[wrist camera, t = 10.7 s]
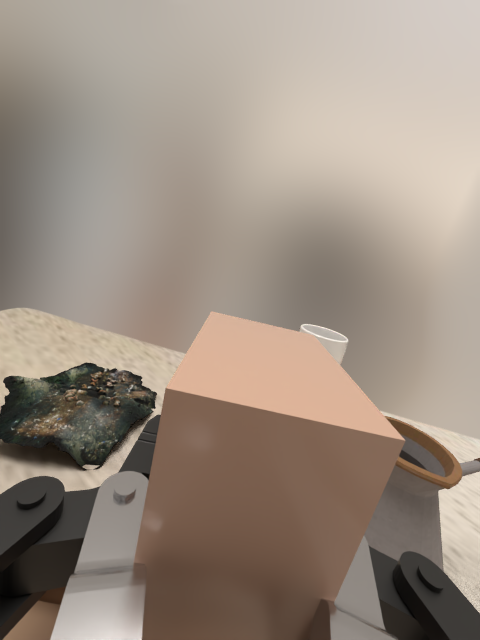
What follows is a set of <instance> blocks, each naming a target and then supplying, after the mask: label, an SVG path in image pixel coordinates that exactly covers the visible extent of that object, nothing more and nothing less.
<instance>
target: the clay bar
mask: <svg viewBox="0 0 480 640" xmlns="http://www.w3.org/2000/svg"><path fill="white" fill-rule="evenodd" d="M404 443H405V439H404V438H403V437H402V436H401V435H400V434H399V433H398V431H397V430H396V429H395V428H394V427H393V426H392V425H391V423H390V422H389V421H388V420H387V419H386V418H385V417H384V415H383V414H382V413H381V412H380V411H379V410H378V409H377V407H376V406H375V405H374V404H373V403H372V402H371V401H370V399H369V398H368V397H367V396H366V395H365V394H364V392H363V391H362V390H361V389H360V388H359V387H358V386H357V384H356V383H355V382H354V381H353V380H352V379H351V378H350V376H349V375H348V374H347V373H346V372H345V371H344V370H343V368H342V367H341V366H340V365H339V364H338V363H337V361H336V360H335V359H334V358H333V357H332V356H331V355H330V353H329V352H328V351H327V350H326V349H325V348H324V346H323V345H322V344H321V343H320V342H319V341H318V340H317V338H316V337H315V336H314V335H311V334H306V333H302V332H298V331H293V330H289V329H285V328H281V327H276V326H272V325H268V324H263V323H259V322H255V321H250V320H246V319H242V318H237V317H233V316H229V315H224V314H220V313H216V312H211V313H210V315H209V317H208V318H207V320H206V321H205V323H204V325H203V327H202V328H201V330H200V332H199V333H198V335H197V337H196V338H195V340H194V342H193V344H192V345H191V347H190V349H189V350H188V352H187V353H186V355H185V357H184V358H183V360H182V362H181V363H180V365H179V367H178V369H177V370H176V372H175V374H174V375H173V377H172V379H171V380H170V382H169V384H168V385H167V387H166V390H165V395H164V401H163V406H162V412H161V417H160V422H159V428H158V433H157V439H156V444H155V450H154V455H153V460H152V466H151V471H150V477H149V482H148V487H147V493H146V498H145V504H144V509H143V514H142V520H141V525H140V531H139V536H138V542H137V547H136V552H135V558H134V563H141V564H145V566H146V588H145V601H144V614H143V628H142V640H308V638H309V636H310V633H311V629H312V624H313V617H314V614H315V612H316V610H317V607H318V605H319V603H320V600H321V598H323V599H326V600H330V601H334V602H335V599H336V597H337V595H338V593H339V590H340V588H341V586H342V584H343V581H344V579H345V577H346V574H347V572H348V570H349V568H350V565H351V563H352V561H353V559H354V556H355V554H356V552H357V550H358V547H359V545H360V543H361V541H362V538H363V536H364V534H365V531H366V529H367V527H368V525H369V522H370V520H371V518H372V516H373V513H374V511H375V509H376V507H377V504H378V502H379V500H380V497H381V495H382V493H383V491H384V488H385V486H386V484H387V482H388V479H389V477H390V475H391V473H392V470H393V468H394V466H395V463H396V461H397V459H398V457H399V454H400V452H401V450H402V448H403V445H404Z"/></svg>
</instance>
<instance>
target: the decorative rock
mask: <svg viewBox="0 0 480 640" xmlns="http://www.w3.org/2000/svg"><path fill="white" fill-rule="evenodd" d="M141 379H142V377H141V376H138V375H134V374H132V373H131V372H129V371H125V370H122V371H119V370H117V369H116V368H115V369H112V370H109V369H104V368H102V367H98V366H97V365H96V364H93V363H84V364H82V365H80V366H77V367H74V368H71V369H69V370H67V371H64V372H61V373H59V374H57V375H55V376H49V377H46V378H45V377H43V378H40V380H39V379H33V378H26V377H21V376H9V377H6V378H5V379H4V381H3V382H4V383H5V387H6V388H8V390H9V392H10V393H9V395H8V396H5V405H3V406H1V413H0V439H2V440H3V441H4V442H5V443H15V444H19V445H21V446H33V447H36V448H42V447H45V446H46V445H47V444H48V443H52V442H54V444H55V445H57V446H58V447H59V449H58V450H59V451H66V452H67V453H69V454H70V455H71V456H72V457H73V459H74V460H76V462H77V463H78V464H79V465H81V467H82V466H84V465H85V464H87V465H100V466H99V467H97V468H96V469H98V468H100V467H101V466H102V463H103V462H104V461H105V460H106V458H107V456H108V454H109V452H110V450H111V449H112V447H113V446H114V444H116V443H117V442H118V441H119V442H121V441H122V439H123V438H124V436H125V434H126V432H127V430H128V429H129V428H130V425H131V424H133V423H134V422H135V421H137V420H138V419H140V418H144V417H145V416H147V415H148V414H150V413H152V412H153V411H152V409H151V408H154V409H155V408H156V407H155V402H154V400H155V397H156V395H157V393H156V392H153V391H151V390H150V389H149V388H146V387H144V386H142V385H141V384H142V381H141ZM83 469H85V468H83ZM86 470H87V469H86ZM93 470H94V469H93Z"/></svg>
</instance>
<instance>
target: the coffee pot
mask: <svg viewBox="0 0 480 640" xmlns="http://www.w3.org/2000/svg"><path fill="white" fill-rule="evenodd" d="M384 417H385V418H386V419H387V420H388V421H389V422H390V423H391V425H392V426H393V427H394V428H395V429H396V430H397V431H398V433H399V434H400V435H401V436H402V437H403V438H404V439H405V443H404V445H403V448H402V450H401V452H400V454H399V457H398V459H397V461H396V463H395V466H394V468H393V470H392V473H391V475H390V477H389V479H388V482H387V484H386V486H385V488H384V491H383V493H382V495H381V497H380V500H379V502H378V504H377V507H376V509H375V511H374V513H373V516H372V518H371V520H370V522H369V525H368V527H367V529H366V531H365V534H364V536H365V538H366V540H367V542H368V545H369V546H370V547H372V548H374V549H376V550H378V551H379V552H381V553H383V554H385V555H387V556H389V557H391V558H393V559H395V560H397V561H399V559H400V557H401V555H402V554H403V553H404V552H406V551H412V552H416V553H419V554H421V555H423V556H425V557H426V558H428V559H429V560H431V561H432V562H433V563H435V564H436V565H437V566H438V567H439V568H440V569H441V570H442V571H443V556H442V542H441V527H440V513H439V498H438V491H439V490H441V489H444V488H446V489H450V488H451V487H453V486H455V485H456V484H458V482H459V481H460V480H461V478H462V476H465V475H469V474H472V473H476V472H479V471H480V458H478V459H475V460H474V461H470V462H465V463H460V464H459V462H458V461H457V459H456V458H455V457H454V456H453V454H451V453H450V452H449V451H448V450H447V449H446V448H445V447H444V446H443V445H441V444H440V443H439V442H438V441H436V440H435V439H434V438H432V437H430V436H429V435H427V434H426V433H424V432H423V431H421V430H419V429H417V428H415V427H413V426H411V425H409V424H407V423H404V422H402V421H400V420H397V419H394V418H391V417H387V416H384ZM443 572H444V571H443Z"/></svg>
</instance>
